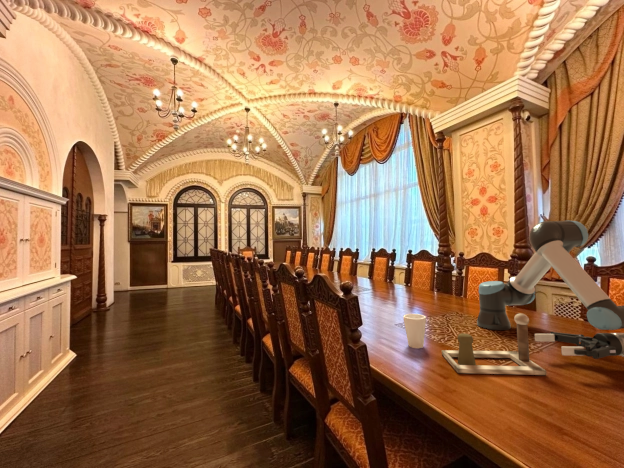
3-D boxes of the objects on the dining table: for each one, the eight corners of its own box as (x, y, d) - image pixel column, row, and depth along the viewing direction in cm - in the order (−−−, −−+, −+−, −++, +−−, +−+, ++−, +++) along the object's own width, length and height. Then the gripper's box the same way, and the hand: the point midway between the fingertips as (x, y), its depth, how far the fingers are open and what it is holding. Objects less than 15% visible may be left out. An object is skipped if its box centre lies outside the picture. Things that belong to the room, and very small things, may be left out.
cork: (454, 361, 108) (452, 332, 109) (469, 360, 109) (467, 331, 109) (464, 367, 102) (462, 337, 103) (479, 366, 103) (478, 336, 103)
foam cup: (427, 343, 128) (426, 314, 128) (426, 350, 119) (425, 319, 120) (405, 341, 132) (404, 313, 132) (403, 348, 123) (402, 318, 124)
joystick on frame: (517, 355, 111) (514, 308, 112) (547, 375, 94) (543, 319, 95) (441, 353, 115) (439, 308, 115) (457, 372, 98) (455, 319, 98)
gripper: (652, 370, 87) (576, 369, 89) (584, 342, 111) (526, 342, 114) (650, 346, 87) (575, 345, 90) (583, 323, 112) (525, 323, 114)
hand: (547, 343), depth 102 cm, fingers open, 13 cm apart
